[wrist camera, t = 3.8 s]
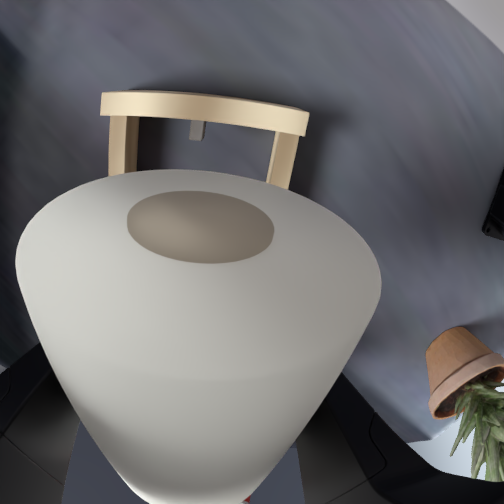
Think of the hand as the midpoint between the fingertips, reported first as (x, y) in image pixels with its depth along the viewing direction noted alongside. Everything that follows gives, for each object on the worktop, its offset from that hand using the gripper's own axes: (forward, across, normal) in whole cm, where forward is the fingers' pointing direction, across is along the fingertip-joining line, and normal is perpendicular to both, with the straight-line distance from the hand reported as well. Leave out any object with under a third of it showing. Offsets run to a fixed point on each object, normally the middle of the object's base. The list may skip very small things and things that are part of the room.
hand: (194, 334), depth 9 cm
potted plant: (+11, -27, +12) cm, 32 cm away
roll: (+1, 0, 0) cm, 1 cm away
